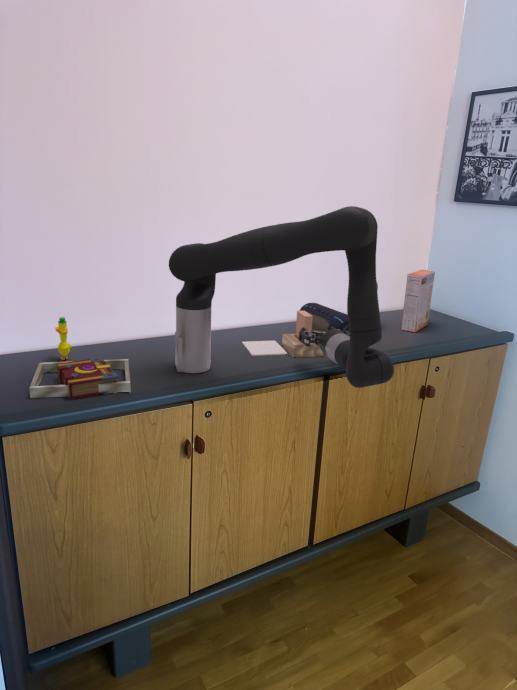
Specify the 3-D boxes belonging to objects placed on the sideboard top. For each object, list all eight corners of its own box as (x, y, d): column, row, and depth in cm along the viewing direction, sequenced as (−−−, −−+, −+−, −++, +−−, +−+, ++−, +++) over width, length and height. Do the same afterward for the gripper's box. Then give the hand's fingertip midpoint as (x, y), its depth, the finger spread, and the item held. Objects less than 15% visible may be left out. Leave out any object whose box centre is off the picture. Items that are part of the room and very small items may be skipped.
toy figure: (52, 357, 141) (49, 315, 138) (65, 354, 144) (62, 313, 140) (62, 363, 137) (59, 320, 133) (75, 361, 139) (72, 318, 135)
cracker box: (412, 322, 197) (420, 269, 190) (428, 325, 193) (436, 271, 187) (399, 330, 186) (406, 273, 179) (415, 333, 182) (423, 275, 176)
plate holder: (293, 357, 150) (294, 344, 149) (281, 346, 160) (282, 334, 159) (322, 356, 153) (323, 343, 152) (309, 345, 163) (310, 333, 162)
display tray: (30, 398, 115) (29, 388, 114) (40, 371, 130) (39, 362, 130) (130, 392, 120) (130, 382, 120) (128, 367, 136) (128, 358, 135)
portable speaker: (292, 328, 181) (294, 301, 178) (315, 326, 186) (317, 299, 183) (336, 349, 160) (339, 318, 157) (360, 345, 165) (363, 315, 162)
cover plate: (302, 355, 153) (305, 316, 150) (294, 347, 160) (297, 310, 156) (309, 354, 154) (312, 316, 150) (301, 347, 160) (304, 310, 157)
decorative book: (69, 402, 115) (68, 381, 113) (55, 378, 128) (54, 359, 126) (119, 393, 121) (118, 373, 119) (101, 371, 134) (100, 353, 132)
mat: (252, 356, 150) (252, 354, 150) (241, 342, 162) (242, 341, 162) (287, 354, 153) (287, 353, 153) (274, 341, 165) (275, 340, 165)
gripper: (366, 332, 130) (340, 316, 145) (314, 334, 127) (293, 318, 142) (363, 360, 133) (338, 341, 148) (312, 362, 129) (292, 343, 144)
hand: (316, 330), depth 144 cm, fingers open, 8 cm apart
